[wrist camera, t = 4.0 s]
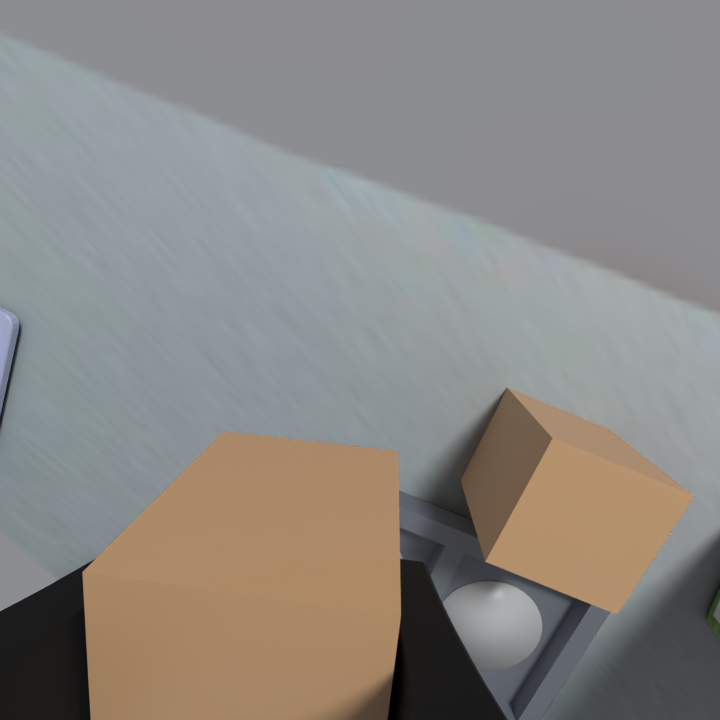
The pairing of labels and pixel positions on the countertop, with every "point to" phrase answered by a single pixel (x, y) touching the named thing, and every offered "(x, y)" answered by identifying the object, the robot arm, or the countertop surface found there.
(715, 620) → the syrup box
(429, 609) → the robot arm
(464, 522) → the tray
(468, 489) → the block
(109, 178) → the countertop surface
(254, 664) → the block
